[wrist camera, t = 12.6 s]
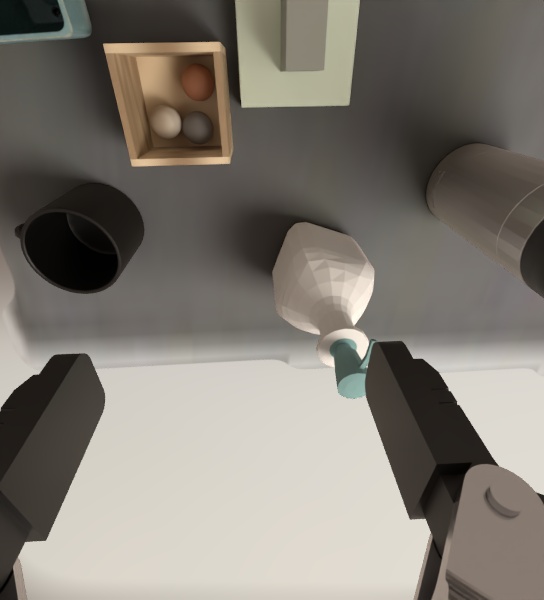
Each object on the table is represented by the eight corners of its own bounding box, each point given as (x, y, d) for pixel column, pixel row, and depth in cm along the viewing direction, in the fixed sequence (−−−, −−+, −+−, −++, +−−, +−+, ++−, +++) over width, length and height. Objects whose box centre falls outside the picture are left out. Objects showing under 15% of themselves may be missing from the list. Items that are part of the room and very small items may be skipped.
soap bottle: (360, 234, 43) (444, 356, 24) (329, 294, 48) (380, 434, 29) (291, 212, 41) (324, 328, 22) (267, 277, 46) (277, 416, 27)
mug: (32, 172, 37) (-24, 196, 30) (143, 189, 39) (118, 216, 31) (48, 248, 42) (4, 285, 35) (146, 261, 44) (124, 299, 36)
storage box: (225, 48, 32) (219, 41, 26) (233, 150, 37) (229, 163, 31) (130, 49, 31) (103, 43, 26) (151, 152, 37) (132, 166, 31)
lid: (357, -40, 29) (392, -77, 22) (344, 104, 35) (367, 111, 28) (233, -40, 28) (227, -78, 21) (241, 106, 35) (238, 113, 27)
